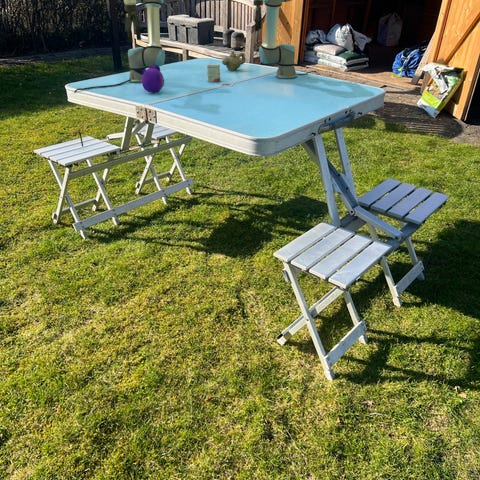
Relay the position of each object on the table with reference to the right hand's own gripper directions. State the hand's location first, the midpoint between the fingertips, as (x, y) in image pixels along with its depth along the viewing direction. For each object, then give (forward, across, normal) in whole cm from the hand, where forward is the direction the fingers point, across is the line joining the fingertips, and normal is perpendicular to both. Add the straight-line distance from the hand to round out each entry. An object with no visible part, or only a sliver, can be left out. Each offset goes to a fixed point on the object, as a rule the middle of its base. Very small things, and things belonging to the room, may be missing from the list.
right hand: (258, 30), depth 357 cm
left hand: (-2, +92, -66) cm, 113 cm away
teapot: (+30, +6, -19) cm, 36 cm away
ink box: (+30, +52, -25) cm, 65 cm away
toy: (+30, +89, -60) cm, 111 cm away
